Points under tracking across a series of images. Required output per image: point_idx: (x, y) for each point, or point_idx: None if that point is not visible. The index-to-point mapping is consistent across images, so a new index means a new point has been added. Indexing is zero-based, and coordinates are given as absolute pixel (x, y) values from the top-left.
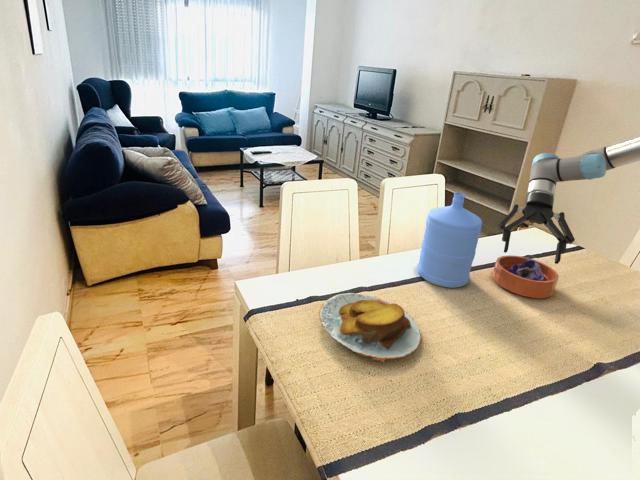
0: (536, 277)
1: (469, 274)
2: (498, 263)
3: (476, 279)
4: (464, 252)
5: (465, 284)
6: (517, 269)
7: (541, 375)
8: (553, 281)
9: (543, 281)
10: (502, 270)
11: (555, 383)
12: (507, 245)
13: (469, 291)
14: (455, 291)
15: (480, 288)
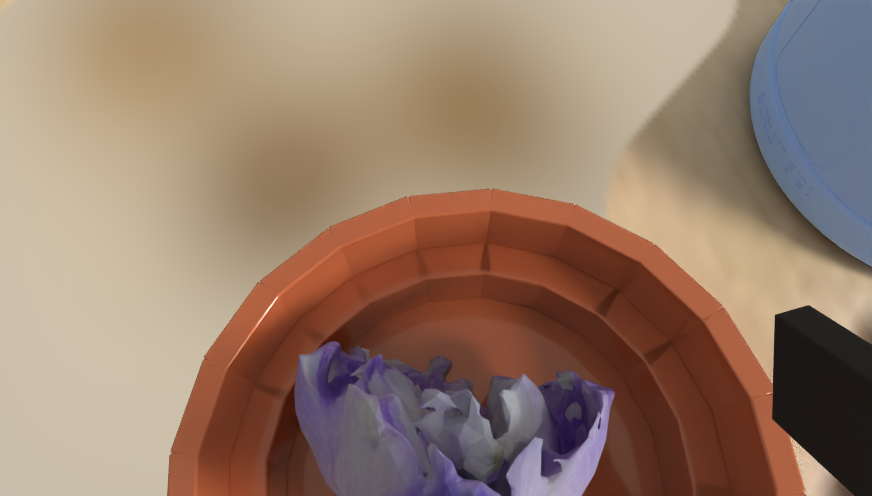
0: (358, 368)
1: (800, 145)
2: (728, 337)
3: (749, 274)
4: None
5: (750, 109)
6: (551, 435)
7: None
8: (206, 357)
9: (286, 276)
10: (635, 238)
11: None
12: (840, 343)
13: (689, 81)
14: (743, 22)
15: (663, 168)
